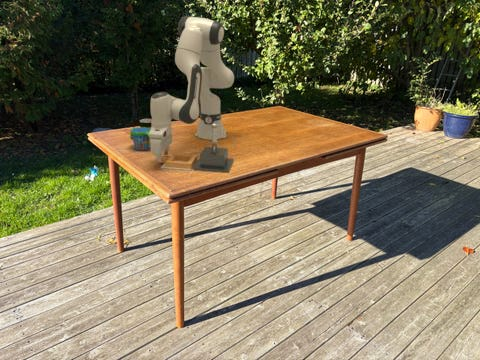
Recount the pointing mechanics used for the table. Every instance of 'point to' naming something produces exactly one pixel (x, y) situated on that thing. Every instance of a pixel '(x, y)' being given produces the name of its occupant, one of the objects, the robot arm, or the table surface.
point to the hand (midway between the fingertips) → (163, 157)
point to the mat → (177, 168)
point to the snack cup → (140, 138)
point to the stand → (214, 156)
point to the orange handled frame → (177, 164)
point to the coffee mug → (144, 123)
